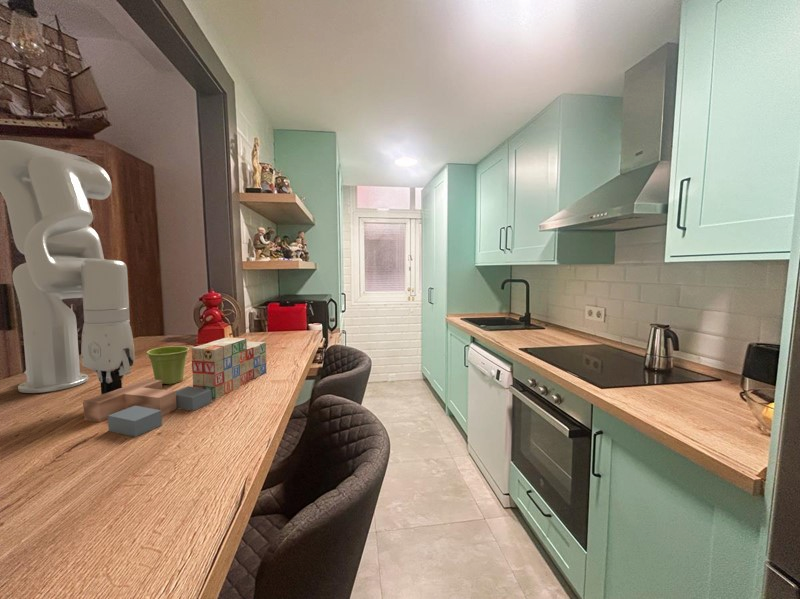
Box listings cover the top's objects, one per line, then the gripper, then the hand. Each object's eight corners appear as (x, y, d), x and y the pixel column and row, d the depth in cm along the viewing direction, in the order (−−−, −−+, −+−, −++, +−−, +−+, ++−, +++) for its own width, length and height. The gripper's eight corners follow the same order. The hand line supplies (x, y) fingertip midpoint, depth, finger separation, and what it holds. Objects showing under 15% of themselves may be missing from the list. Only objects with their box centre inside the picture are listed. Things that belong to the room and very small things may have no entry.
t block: (84, 420, 68) (83, 400, 68) (148, 395, 82) (147, 378, 82) (137, 427, 66) (136, 407, 65) (194, 400, 79) (194, 383, 79)
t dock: (108, 430, 64) (107, 415, 64) (188, 398, 80) (187, 386, 80) (135, 436, 62) (134, 421, 62) (211, 402, 78) (211, 389, 78)
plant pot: (177, 374, 98) (176, 344, 97) (197, 379, 94) (196, 348, 93) (140, 383, 90) (139, 351, 89) (160, 389, 86) (158, 356, 85)
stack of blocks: (248, 371, 103) (247, 331, 101) (267, 372, 101) (266, 332, 100) (192, 397, 82) (190, 346, 81) (215, 399, 80) (214, 348, 79)
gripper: (63, 316, 72) (69, 399, 74) (112, 321, 68) (117, 409, 70) (102, 312, 80) (107, 388, 81) (150, 316, 75) (153, 396, 77)
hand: (112, 398), depth 76 cm, fingers closed
